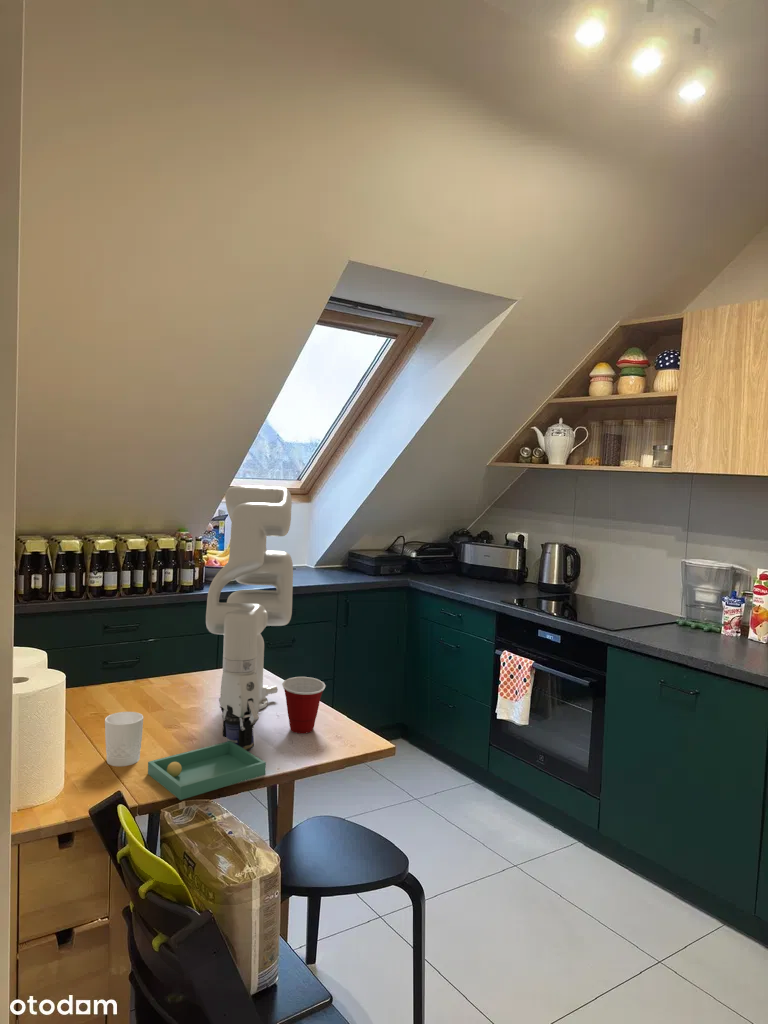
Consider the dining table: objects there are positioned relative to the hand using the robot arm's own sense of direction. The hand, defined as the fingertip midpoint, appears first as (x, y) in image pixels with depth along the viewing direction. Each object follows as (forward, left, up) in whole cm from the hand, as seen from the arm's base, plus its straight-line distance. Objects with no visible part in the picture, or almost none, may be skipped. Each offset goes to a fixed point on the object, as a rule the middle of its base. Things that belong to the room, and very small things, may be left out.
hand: (237, 739), depth 168 cm
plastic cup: (-20, -2, -3) cm, 20 cm away
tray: (+12, +8, -3) cm, 15 cm away
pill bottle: (-1, 0, -2) cm, 3 cm away
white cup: (+23, -9, -3) cm, 25 cm away
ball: (+18, +5, -2) cm, 19 cm away
